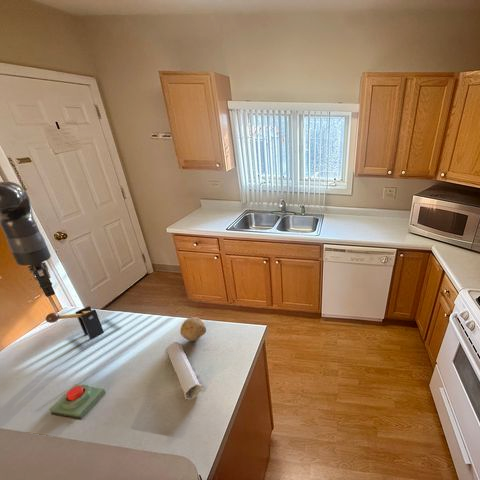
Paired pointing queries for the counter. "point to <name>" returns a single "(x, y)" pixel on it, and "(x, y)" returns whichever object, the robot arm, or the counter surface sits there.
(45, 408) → the counter surface
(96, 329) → the bracket
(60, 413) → the button block
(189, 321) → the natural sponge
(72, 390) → the button
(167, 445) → the counter surface
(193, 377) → the tube
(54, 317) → the switch lever
